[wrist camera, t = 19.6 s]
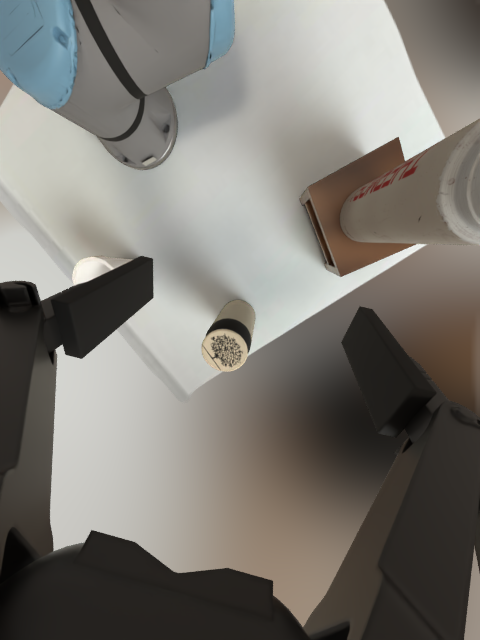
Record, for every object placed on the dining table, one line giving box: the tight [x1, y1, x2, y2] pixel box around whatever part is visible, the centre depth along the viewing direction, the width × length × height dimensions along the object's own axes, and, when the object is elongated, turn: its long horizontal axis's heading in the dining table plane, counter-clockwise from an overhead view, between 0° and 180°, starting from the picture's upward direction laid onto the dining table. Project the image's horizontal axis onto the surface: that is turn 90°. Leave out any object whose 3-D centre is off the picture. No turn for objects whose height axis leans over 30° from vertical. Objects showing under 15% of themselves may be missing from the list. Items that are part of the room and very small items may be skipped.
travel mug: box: [202, 300, 255, 371], centre depth 45 cm, size 8×8×18 cm
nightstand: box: [300, 137, 416, 277], centre depth 39 cm, size 15×13×10 cm
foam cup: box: [72, 256, 132, 286], centre depth 47 cm, size 10×9×13 cm
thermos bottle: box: [340, 119, 480, 245], centre depth 22 cm, size 8×8×28 cm
